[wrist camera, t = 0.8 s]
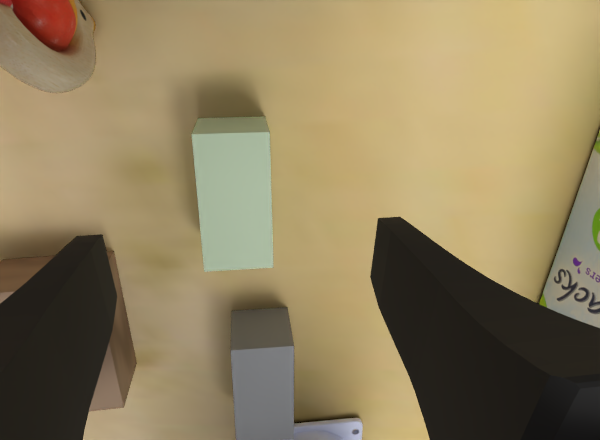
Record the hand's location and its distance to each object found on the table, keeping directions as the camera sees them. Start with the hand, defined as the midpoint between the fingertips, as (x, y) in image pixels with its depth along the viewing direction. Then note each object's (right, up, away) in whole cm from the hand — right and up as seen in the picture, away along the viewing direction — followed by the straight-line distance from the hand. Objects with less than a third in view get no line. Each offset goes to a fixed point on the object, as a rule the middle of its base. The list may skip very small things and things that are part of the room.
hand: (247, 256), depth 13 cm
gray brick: (-1, -8, +19) cm, 20 cm away
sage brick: (-2, +3, +14) cm, 14 cm away
